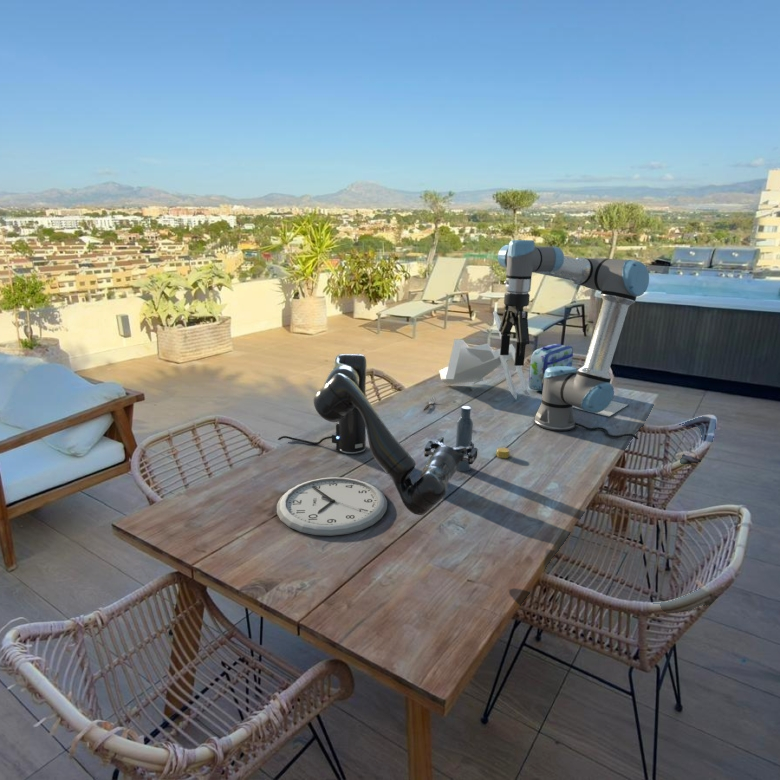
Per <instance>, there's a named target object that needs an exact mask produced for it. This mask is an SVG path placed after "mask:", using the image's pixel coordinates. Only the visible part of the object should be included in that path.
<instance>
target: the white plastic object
mask: <svg viewBox="0 0 780 780" xmlns="http://www.w3.org/2000/svg"><path fill="white" fill-rule="evenodd" d="M492 315H493V319H494V321H495V324H496V325H495V326H496V328H497V332H498V335H499V338H500V339H501V332H500V331H499V328H500V325H501V321H502V320H501V318H500V315H499V314H498V312H497V311H496V310H495V311H492ZM515 352H516V347H515V346H514V345H513V343H510V344H509V355H500V348H498V349H496V350H495V349H493V348H492V347H491V346H490V344H489V343H488V342H487V343H483V344H479V345H473V346H469V345H468V343H466V342H465V340H464V339H463V338H460V339H458V338H454V340H453V344H452V349H451V353H450V357H449V362H448V366H446V367H444V368H442V369H440V370H439V371H438V372H439V376H440V381H442V383H443V384H444V385H445V386H449V385H458V384H467V383H468V384H469V383H473V384H477V383H480V382H482V381H484V378H485V377H486V376H487V375H489V374H490V373H492V372H494V371H495V370H496V369H497V368H499V367H500V366H502V370H503V373H504V376H505V380H506V383H507V386H508V390H509V393H510V394H511V395H512V397H513V398H514V399H515V400H517V392H516V391H517V390H516V388H515V385H514V381H513V378H512V375H511V371H510V369H509V365H508V361H510V360H513V363H515ZM522 368H523V367H522V366H515V369H516V372H517V376H518V380H519V382H520V385H521V389H522V391H523V393H524V395H525V396H526V397H528V396H531V395H530V390H529V388H528V387H529V386H528V384H527V381H526V378H525V375H524V371H523V369H522Z"/></svg>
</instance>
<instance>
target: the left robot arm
mask: <svg viewBox="0 0 780 780" xmlns="http://www.w3.org/2000/svg"><path fill="white" fill-rule="evenodd" d="M367 363H368V362H367V358H366V356H365V354H359V353H358V354H354V353H353V354H352V353H351V354H350V353H349V354H348V353H341V354H338V355H336V356H335V358H334V359H333V362H332V368H331V370H330V371H329V372H328V374H327V376H326V379H325V381H324V383H323V386H322V387H321V388H319V389H318V391H317V392H316V393H315V394H314V396H313V400H312V401H313V406H314V408H315V411H316V412H317V414H318V415H319V416H320V417H321V418H322V419H323V420H325V421H327V422H330V423H336V424H335V431H334V433H332V434H331V435H330V436H329V435H328V436H325V437H322V438H321V439H320V440H319V441H311V440H310V441H309V440H307V439H301V438H297V437H293V436H288V435H281V436H279V438H277V441H281V440H283V439H288V440H292V441H297V442H301V443H306V444H310V445H319V444H321V443H322V442H323V441H325V440H329V439H330V440H331V443H332V444H335V450H336V451H338V452H340V453H342V454H345V455H359V454H362V453H363V452H366V449H367V442H368V446H369V449H370V452H371V453H370V454H371V455H372V457H373V458H374V461H376V463H377V464H378V465H379V466H380V468H381V469H382V470H383V471H384V472H385V473H386V474H387V476H388V477H389V478H390V479H391V481H392V484H393V485H394V486H395V490H396V491H397V494H398V495H399V498H400V499H401V501H402V503H403V505H404V506H405V508H406V509H407V510H408V511H409V512H411V513H412V514H414V515H417V516H424V515H425V514H426V513H428V512H429V511H430V510H432V508H434V507H435V506H436V505H437V504H438V503H439V502H440V501H442V500H443V499H444V497H445V496H446V494H447V493H448V483H449V482H450V481H451V479H452V478H453V477H454V475H455V474H456V472H457V470H456V469H457V468H458V466H459V464H460V462H462V461H463V460H465V461H468V464H470V465H473V464H474V462H475V461H476V459H477V458H478V451H479V449H478V448H477V447H475V444H474V443H473V441H472V442H469V444H468V446H467V447H463V446H461V447H457V448H456V446H455V447H451V446H448V445H445V444H444V440H445V439H444V436H440V437H438V438H437V440H435V441H433V440H428V441H427V442H426V445H425V447H424V452H423V453H424V454H423V455H424V457H425V458H428V457H429V456H430V457H429V459H428V460H427V462H426V464H425V466H424V467H423V469H422V470H421V472H420V475H419V478H418V479H417V480H416V481H415V482H414V483H413V481H412V478H411V477H412V476H411V475H412V473H413V471H414V469H415V468H416V464H417V463H416V461H415V460H414V458H413V457H412V456H411V454H410V453H408V451H406V449H405V448H404V447H403V445H401V443H400V442H398V440H397V439H396V437H395V436H394V435H393V434H392V433H391V431H390V430H389V429H388V427H387V425H385V423H384V421H383V420H382V418H381V417H380V415H379V414H378V412H377V411H376V410H375V408H374V406H373V405H372V404H371V402H370V401H369V400H368V398H367V396H366V395H367V393H366V392H367V391H366V389H367V388H366V387H367V370H368V369H367V368H368V365H367ZM366 435H367V436H366ZM366 440H368V441H366ZM433 449H434V450H433ZM466 450H467V453H466Z"/></svg>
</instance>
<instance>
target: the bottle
mask: <svg viewBox="0 0 780 780" xmlns="http://www.w3.org/2000/svg"><path fill="white" fill-rule="evenodd" d="M471 411H472V408H471V406H469V405H463V406H461V408H460V416H459V418H458V419H457V422H456V436H455V437H456V439H455V448H457V447H461V446H463V447H467V446H468V444H469V442H472V443H473V427H474V422H473V419H472V418H471ZM466 453H467V450H466ZM470 470H471V464H468V461H465V460H463V461H462V462H460V464H459V466H458V468H457V469H456V471H458V472H468V471H470Z"/></svg>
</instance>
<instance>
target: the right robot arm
mask: <svg viewBox="0 0 780 780" xmlns="http://www.w3.org/2000/svg"><path fill="white" fill-rule="evenodd" d="M535 244H536V243H535V241H534V240H531V239H512V240H511V241H510V242H509V244H506V245H503V246H502V247H501V248H500V249H499V251H498V254H497V261H498V264H499V265H500V267H502V268H505V269H506V272H505V273H506V274H505V281H504V282H503V283H504V285H505V286H504V287H505V288H504V290H505V291H506V292H504V295H503V296H504V297H503V304H504V308H503V313H502V318H501V320H500V321H501V325H500V328H499V331H500V332H501V338H500V348H499V349H500V355H509V345H510V344H511V343H510V342H511V335H512V332H511V331H512V329H513V327H514V330H515V336H516V342H515V349H516V352H515V363H514V362H513V363H514V366H515V367H516V366H521V367H524V366H525V357H526V346H527V345H529V344H530V331H529V321H528V319H529V317H528V315H529V313H528V311H527V310H525V311H524V307H528V306H530V297H531V294H530V292H531V288H532V275H533V273H535V274H539V275H543V276H549V277H553V278H558V279H564V280H569V281H570V282H571V283H572V284H573V285H578V286H581V287H585V288H587V289H591V290H594V291H597V292H600V297H601V299H602V304H601V307H600V311H599V313H598V317H597V320H596V324H595V327H594V331H593V334H592V337H591V341H590V344H589V347H588V350H587V354H586V356H585V360H584V363H583V366H582V367H580V368H578V369H577V367H574V366H572V367H569V366H555V367H549V368H547V369H546V370H545V374H544V378H543V390H542V391H541V402H540V405H539V407H538V410H537V411H536V413H535V417H534V424H535V425H536V426H537V427H539V428H542V429H544V430H549V431H556V432H567V431H572V430H574V429H575V428H576V426H577V427H580V428H583V429H584V430H588V431H597V430H601V431H604V432H605V435H606V436H607V437H609V438H611V439H612V438H613V439H618V438H625V437H632V438H634V439H635V440H639V437H638V436H637V435H635V434H634V433H623V434H617V435H615V434H614V435H613V434H611V433H609V431H608V429H606V428H605V427H602V426H596V427H589V426H586V425H584V424H581V423H577V422H576V418H575V417H576V416H575V413H574V407H578V408H581V409H583V410H582V411H584V412H588V411H589V412H588V413H592V412H593V414H596V413H597V412H601V411H603V410H604V409H605V408H606V407H607V406H608V405H609V404H610V403H611V401H613V398H614V396H615V390H614V389H615V387H614V386H613V385H612V384H611V381H612V377H611V375H610V373H609V371H610V368H611V365H612V362H613V358H614V355H615V352H616V349H617V346H618V343H619V339H620V336H621V332H622V331H623V330H622V329H623V327H624V323H625V320H626V316H627V313H628V310H629V307H630V306H631V305H633V304H635V303H636V301H637V297H641V296H642V295H644V294H645V293H646V291H647V290H648V288H649V285H650V273H649V269H648V267H647V266H646V264H645V263H643V262H642V261H639V260H633V259H622V258H621V259H620V258H605V257H602V258H601V257H600V258H588V257H584V256H582V257H581V256H579V257H577V258H574V257H570V256H565V254H564V251H563V250H562V249H561V248H560V247H558V246H551V245H550V246H540V245H539V246H538V245H535ZM499 331H498V332H499Z"/></svg>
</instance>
